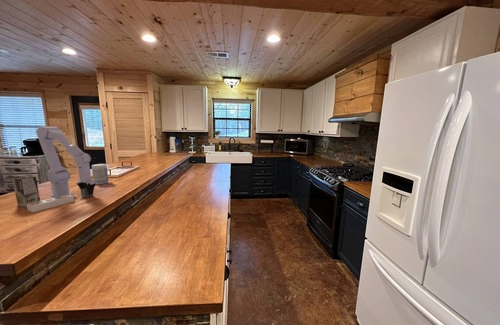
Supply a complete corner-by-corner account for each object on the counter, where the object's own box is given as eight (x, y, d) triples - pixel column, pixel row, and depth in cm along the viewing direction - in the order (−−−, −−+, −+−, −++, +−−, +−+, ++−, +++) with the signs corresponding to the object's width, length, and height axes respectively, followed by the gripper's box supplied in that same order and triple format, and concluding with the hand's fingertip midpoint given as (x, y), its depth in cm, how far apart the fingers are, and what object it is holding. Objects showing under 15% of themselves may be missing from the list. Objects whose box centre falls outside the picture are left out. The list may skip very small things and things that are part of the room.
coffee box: (41, 203, 118) (36, 176, 115) (26, 207, 112) (21, 179, 109) (32, 201, 121) (27, 175, 118) (17, 205, 115) (11, 177, 112)
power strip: (32, 212, 106) (31, 205, 105) (27, 210, 109) (26, 203, 108) (74, 201, 122) (73, 195, 121) (69, 199, 125) (68, 193, 124)
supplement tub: (109, 183, 161) (107, 164, 158) (94, 185, 154) (92, 166, 152) (107, 180, 168) (105, 163, 165) (93, 182, 161) (90, 164, 159)
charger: (81, 198, 126) (80, 190, 125) (77, 197, 128) (76, 189, 127) (93, 195, 132) (92, 188, 131) (89, 194, 134) (88, 187, 133)
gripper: (71, 173, 128) (74, 193, 130) (83, 175, 122) (86, 197, 124) (84, 171, 134) (86, 190, 137) (96, 173, 128) (99, 194, 130)
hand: (87, 193), depth 131 cm, fingers open, 7 cm apart
